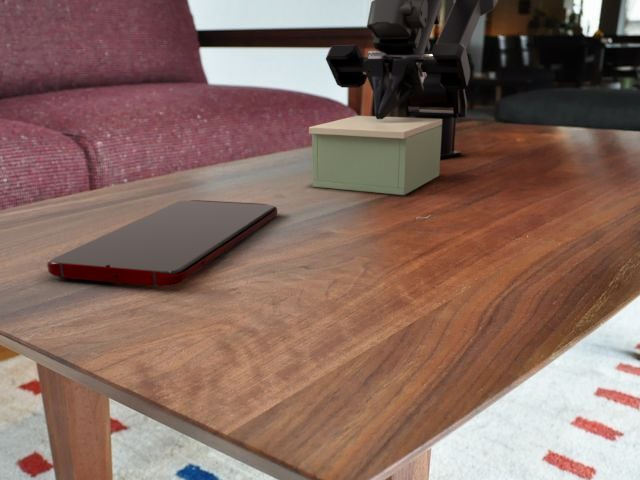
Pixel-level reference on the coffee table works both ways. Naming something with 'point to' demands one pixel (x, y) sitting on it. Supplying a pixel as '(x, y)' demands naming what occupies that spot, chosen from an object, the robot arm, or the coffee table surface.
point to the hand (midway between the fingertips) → (378, 117)
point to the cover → (376, 127)
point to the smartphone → (164, 243)
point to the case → (376, 162)
